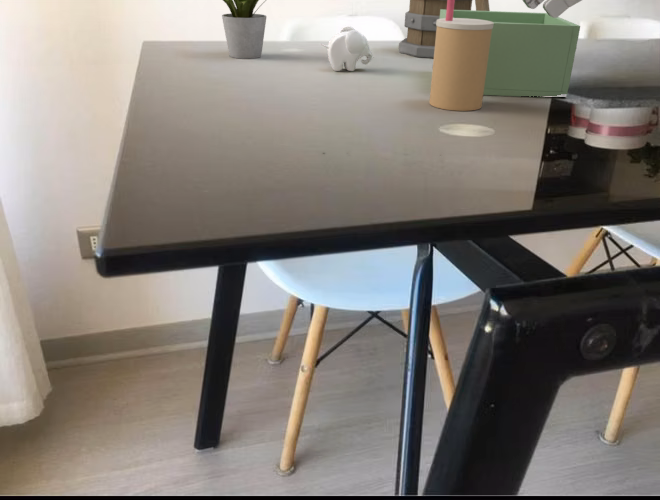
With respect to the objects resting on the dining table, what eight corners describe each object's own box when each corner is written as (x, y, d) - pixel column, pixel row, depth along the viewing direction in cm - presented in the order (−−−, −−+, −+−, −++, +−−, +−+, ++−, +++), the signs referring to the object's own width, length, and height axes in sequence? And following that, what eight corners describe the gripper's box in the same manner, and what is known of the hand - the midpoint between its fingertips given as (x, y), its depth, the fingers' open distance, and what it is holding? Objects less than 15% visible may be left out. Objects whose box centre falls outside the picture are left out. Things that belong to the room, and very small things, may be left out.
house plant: (304, 63, 98) (305, -53, 91) (215, 66, 94) (209, -56, 87) (280, 49, 110) (279, -55, 103) (200, 51, 106) (194, -57, 99)
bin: (538, 75, 94) (549, 13, 91) (566, 98, 80) (580, 25, 77) (434, 71, 95) (440, 9, 91) (443, 93, 81) (451, 21, 77)
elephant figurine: (377, 74, 92) (379, 31, 89) (322, 74, 91) (323, 30, 88) (368, 66, 98) (371, 25, 95) (317, 65, 97) (318, 24, 94)
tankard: (386, 49, 114) (392, -43, 107) (441, 45, 119) (450, -42, 113) (458, 68, 98) (470, -38, 91) (518, 63, 104) (533, -37, 97)
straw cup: (478, 99, 78) (494, -23, 72) (486, 112, 73) (504, -20, 66) (426, 97, 79) (438, -25, 72) (430, 109, 73) (443, -22, 67)
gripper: (597, -108, 73) (500, -20, 78) (675, -125, 55) (542, -8, 60) (627, -64, 75) (530, 19, 80) (712, -66, 57) (580, 43, 61)
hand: (536, 8), depth 69 cm, fingers open, 8 cm apart
